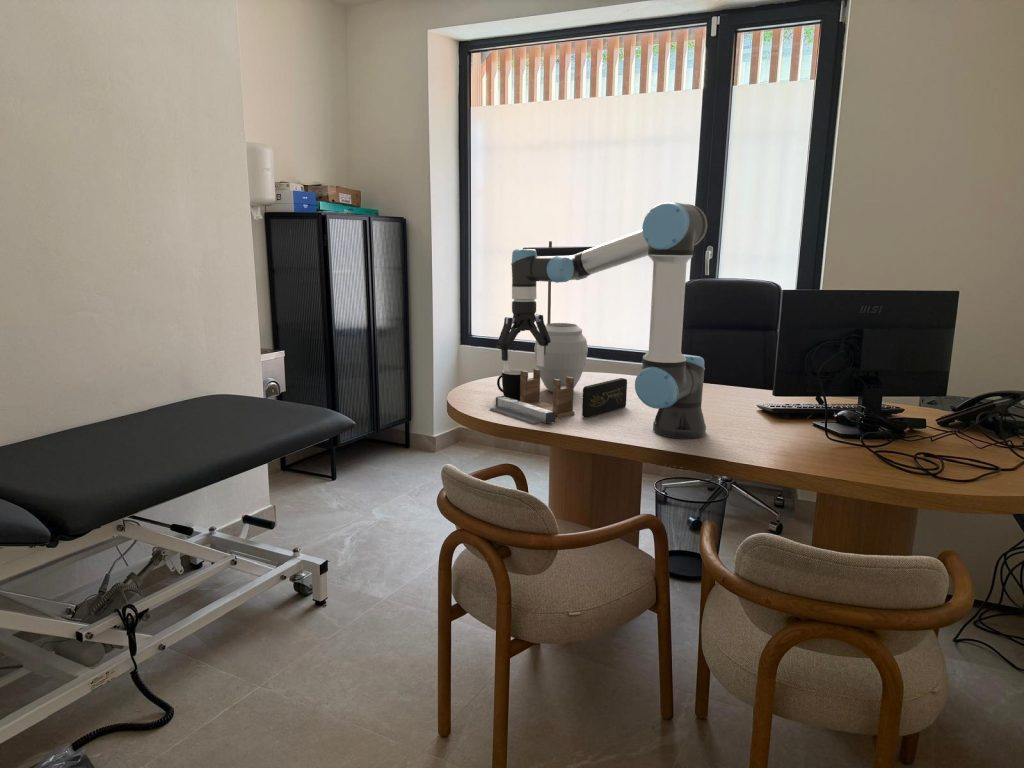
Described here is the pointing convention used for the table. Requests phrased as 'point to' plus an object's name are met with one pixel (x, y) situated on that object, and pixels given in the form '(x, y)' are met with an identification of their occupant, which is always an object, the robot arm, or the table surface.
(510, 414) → the mat
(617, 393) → the nameplate
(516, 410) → the rail
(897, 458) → the table surface
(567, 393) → the rack
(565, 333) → the vase
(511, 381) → the mug
